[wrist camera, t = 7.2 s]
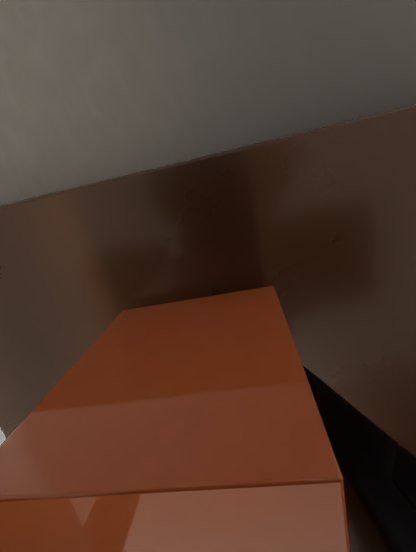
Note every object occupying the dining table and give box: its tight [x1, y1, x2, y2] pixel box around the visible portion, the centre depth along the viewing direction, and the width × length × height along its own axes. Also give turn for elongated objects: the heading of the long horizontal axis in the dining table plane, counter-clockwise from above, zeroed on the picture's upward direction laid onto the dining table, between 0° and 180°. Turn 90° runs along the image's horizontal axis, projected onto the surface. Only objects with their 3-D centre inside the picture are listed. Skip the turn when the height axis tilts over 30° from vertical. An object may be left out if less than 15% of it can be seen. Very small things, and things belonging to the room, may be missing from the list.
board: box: [0, 105, 416, 457], centre depth 11 cm, size 20×13×2 cm, turn 102°
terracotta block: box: [0, 286, 351, 552], centre depth 7 cm, size 5×5×6 cm
